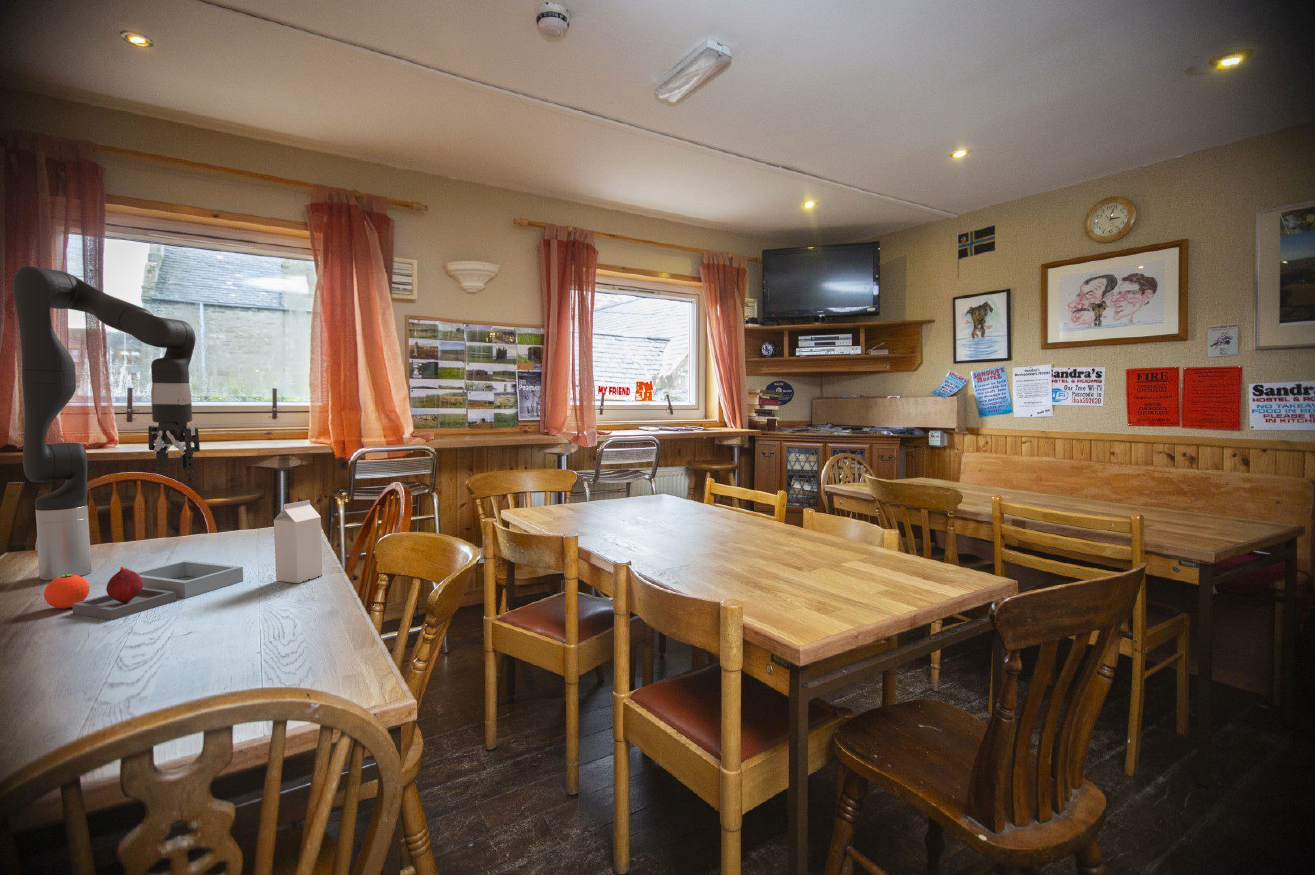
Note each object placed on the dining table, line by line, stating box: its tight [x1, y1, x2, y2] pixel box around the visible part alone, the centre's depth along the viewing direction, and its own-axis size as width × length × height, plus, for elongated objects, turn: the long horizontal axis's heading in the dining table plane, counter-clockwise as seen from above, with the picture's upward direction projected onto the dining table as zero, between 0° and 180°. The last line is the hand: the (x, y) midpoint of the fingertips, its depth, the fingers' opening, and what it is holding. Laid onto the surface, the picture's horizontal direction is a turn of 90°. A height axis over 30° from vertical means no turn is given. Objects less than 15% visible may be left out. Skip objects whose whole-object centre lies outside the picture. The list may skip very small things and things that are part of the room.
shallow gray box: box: [135, 560, 244, 599], centre depth 143 cm, size 19×13×4 cm
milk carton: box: [273, 499, 324, 584], centre depth 148 cm, size 7×7×19 cm
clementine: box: [43, 574, 91, 609], centre depth 128 cm, size 8×7×7 cm
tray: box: [71, 587, 177, 621], centre depth 128 cm, size 12×12×2 cm
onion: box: [105, 565, 143, 603], centre depth 128 cm, size 6×6×8 cm
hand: (174, 469), depth 146 cm, fingers open, 8 cm apart
